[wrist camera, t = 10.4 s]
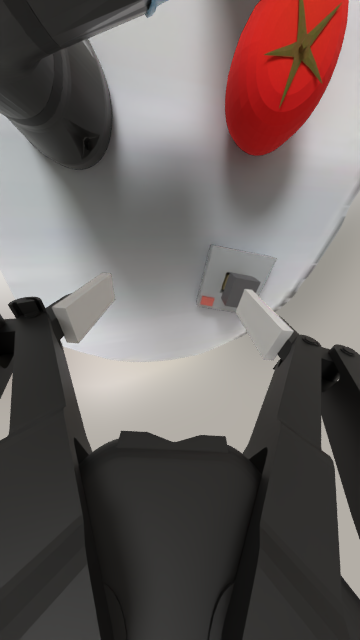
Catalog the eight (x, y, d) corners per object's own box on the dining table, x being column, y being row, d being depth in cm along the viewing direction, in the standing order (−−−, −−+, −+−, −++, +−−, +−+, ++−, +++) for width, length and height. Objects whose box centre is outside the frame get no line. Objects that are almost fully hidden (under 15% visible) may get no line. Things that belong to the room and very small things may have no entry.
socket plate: (210, 244, 32) (213, 246, 29) (269, 256, 34) (279, 259, 30) (196, 301, 40) (197, 307, 37) (245, 309, 41) (250, 316, 38)
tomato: (228, 179, 27) (250, 154, 18) (210, 78, 21) (229, -31, 12) (299, 141, 24) (367, 90, 15) (300, 14, 19) (409, -182, 10)
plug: (224, 266, 35) (235, 277, 27) (244, 270, 35) (261, 282, 28) (216, 290, 38) (225, 305, 30) (234, 293, 38) (247, 309, 31)
